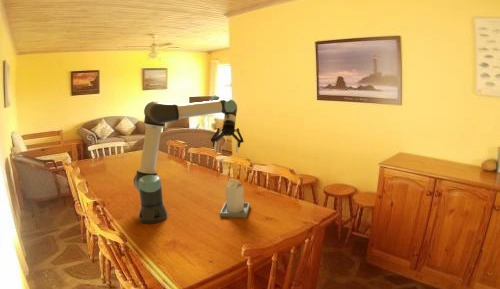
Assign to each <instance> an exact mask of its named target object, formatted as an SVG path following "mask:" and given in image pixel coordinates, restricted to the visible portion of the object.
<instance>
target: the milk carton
mask: <svg viewBox="0 0 500 289" xmlns="http://www.w3.org/2000/svg"><path fill="white" fill-rule="evenodd" d="M225 196H226V201H225V202H226V203H227V211H228V212H231V213H239V212H241V211H243V210H244V203H245V201H244V185H243V184H242V183H241V182H240V180H238V179H235V178H229V181H228V182H227V184H226V185H225Z"/></svg>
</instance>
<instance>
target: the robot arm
mask: <svg viewBox="0 0 500 289" xmlns="http://www.w3.org/2000/svg"><path fill="white" fill-rule="evenodd" d="M143 110H144V111H143V114H144V121H143V124H144V125H145V133H144V139H143V147H142V153H141V157H140V164H139V167H138V168H137V169H136V173H135V175H134V178H133V185H134V188H135V189H136V190H137V192H138V194H139V199H140V210H139V214H138V219H139V220H138V221H139V222H140V223H142V224H147V225H151V224H156V223H160V222H162V221H164V220H166V218H167V217H168V212H167V209H166V206H165V205H164V201H163V190H162V180H161V178H160V176H158V170H157V169H156V167H157V162H158V161H157V160H158V156H159V155H158V154H159V149H160V148H159V147H160V142H161V135H162V130H163V128H165V127H166V123H171V122H172V123H173V122H177V121H179V120H180V119H185V118H193V117H199V116H205V115H206V116H207V115H213V114H219V113H220V114H221V113H223V114H224V117H223V118H224V119H223V123H222V124H223V125H222V128H220V127H218V128H217V130H216V131H215V133H214V134H213V135H212V136H211V138H210V142H211V143H212V147H213V152H214V153H215V154H216V153H217V147H218V142H219V141H220V140H221V139H222V138H224V137H231V136H232V138H233V139H235V141H236V145H235V146H236V147H235V152H236V154H237V153H239V148H241V144H242V143H245V142H244V138H243V137H242V136H243V135H242V134H241V133H240V129H239V128H240V127H238V128H236V121H237V120H236V119H237V112H238V105H237V102H236V101H235V100H234V99H231V98H222V97H219V96H217V95H212V96H211V98H210V99H209V101H202V102H201V101H200V102H191V103H182V104H178V103H176V102H175V103H166V102H165V103H164V102H160V101H157V100H156V101H155V100H154V101H151V102H148V103H147V104H146V105H145V107H144V109H143ZM236 134H237V135H238V136H237V135H236Z"/></svg>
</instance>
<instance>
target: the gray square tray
mask: <svg viewBox="0 0 500 289" xmlns="http://www.w3.org/2000/svg"><path fill="white" fill-rule="evenodd" d="M250 206H251V204H250V202H244V210H243V211H241V212H239V213H231V212H228V211H227V203H226V201H224V203H223V206H222V208H221V210H220V212H219V217H220V218H235V219H237V218H238V219H240V218H241V219H247V218H248V214H249V211H250Z"/></svg>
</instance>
